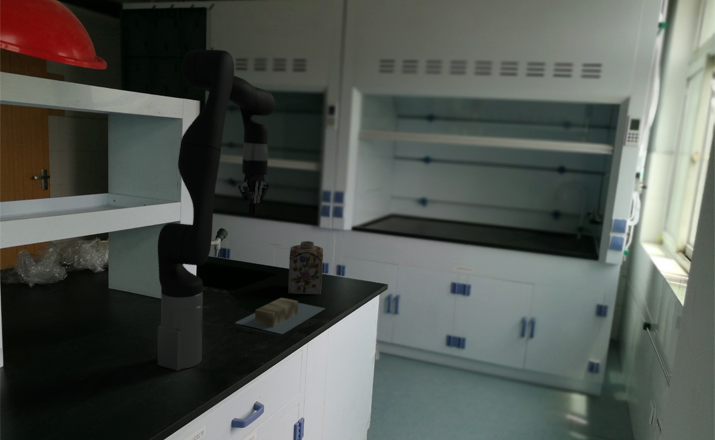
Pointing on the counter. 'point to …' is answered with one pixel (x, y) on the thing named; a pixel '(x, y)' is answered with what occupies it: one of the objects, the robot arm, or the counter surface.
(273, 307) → the maple block
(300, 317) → the mat
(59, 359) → the counter surface
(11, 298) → the counter surface
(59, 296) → the counter surface
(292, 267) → the decorative jar
